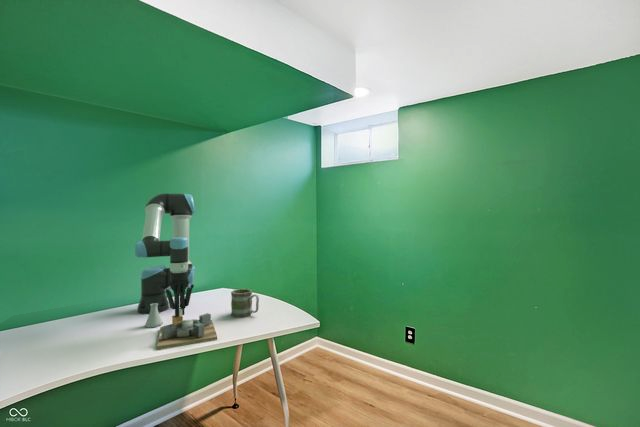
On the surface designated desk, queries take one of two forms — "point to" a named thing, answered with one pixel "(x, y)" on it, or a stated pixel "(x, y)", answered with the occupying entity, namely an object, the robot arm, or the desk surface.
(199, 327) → the ring nut
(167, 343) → the board
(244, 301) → the mug
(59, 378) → the desk surface
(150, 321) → the flask
